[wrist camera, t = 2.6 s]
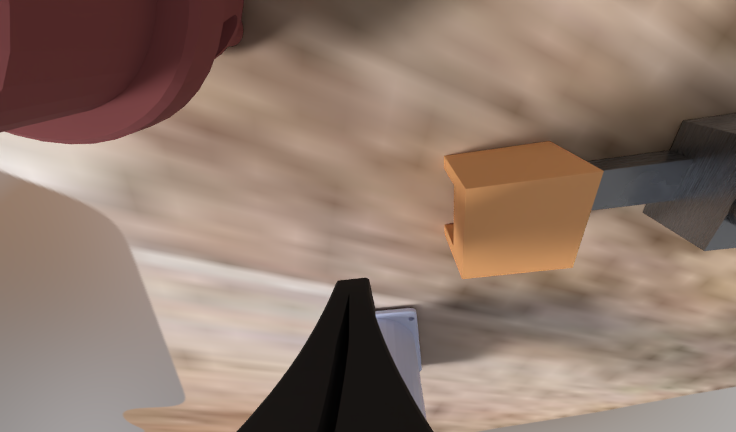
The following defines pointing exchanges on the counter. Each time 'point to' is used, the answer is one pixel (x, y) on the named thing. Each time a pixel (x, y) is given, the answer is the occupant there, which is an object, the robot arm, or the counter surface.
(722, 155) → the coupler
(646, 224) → the counter surface
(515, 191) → the notched orange block
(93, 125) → the mechanical component
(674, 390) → the counter surface
